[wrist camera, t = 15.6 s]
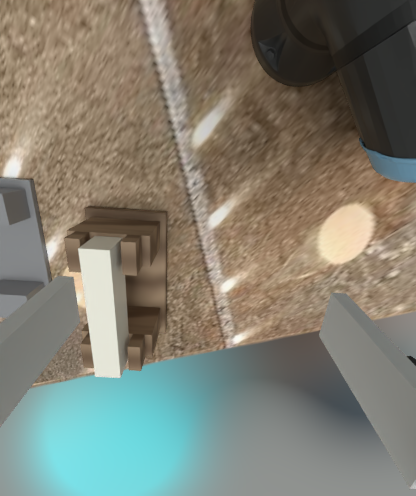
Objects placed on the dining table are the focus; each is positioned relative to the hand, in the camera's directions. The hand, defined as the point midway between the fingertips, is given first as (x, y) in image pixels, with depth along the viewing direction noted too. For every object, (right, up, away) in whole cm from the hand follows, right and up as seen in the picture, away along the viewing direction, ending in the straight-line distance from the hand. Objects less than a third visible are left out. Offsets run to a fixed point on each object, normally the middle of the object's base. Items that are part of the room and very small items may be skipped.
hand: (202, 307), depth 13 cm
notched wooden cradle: (-15, -2, +36) cm, 39 cm away
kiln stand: (-36, +3, +34) cm, 49 cm away
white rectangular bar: (-15, -6, +27) cm, 31 cm away
